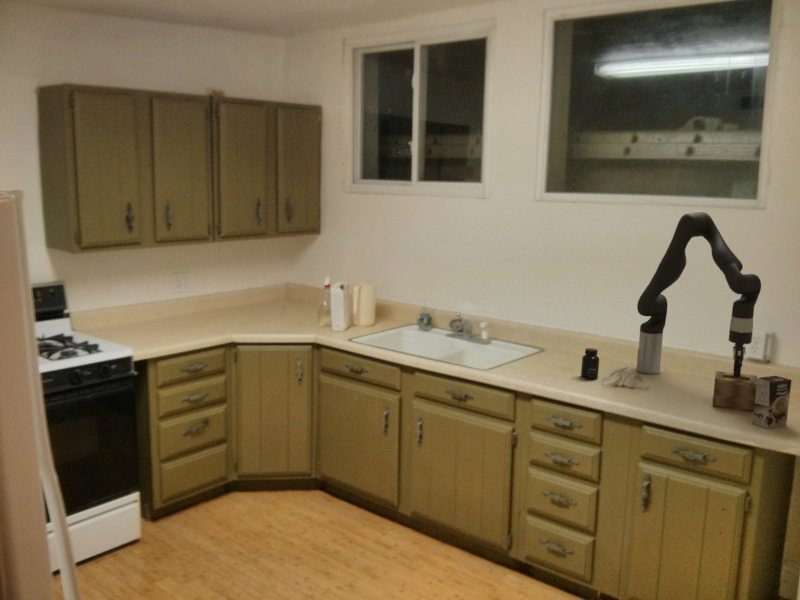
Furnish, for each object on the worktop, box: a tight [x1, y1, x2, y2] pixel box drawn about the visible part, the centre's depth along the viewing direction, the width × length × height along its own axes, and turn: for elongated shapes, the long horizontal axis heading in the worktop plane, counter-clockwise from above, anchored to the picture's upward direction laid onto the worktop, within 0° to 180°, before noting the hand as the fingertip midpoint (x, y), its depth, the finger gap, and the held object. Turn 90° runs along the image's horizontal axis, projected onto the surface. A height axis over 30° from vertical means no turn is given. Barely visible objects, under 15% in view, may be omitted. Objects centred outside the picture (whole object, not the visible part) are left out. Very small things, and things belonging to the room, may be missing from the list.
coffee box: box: [752, 375, 792, 429], centre depth 246 cm, size 9×6×16 cm
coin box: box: [712, 370, 758, 413], centre depth 267 cm, size 14×12×10 cm
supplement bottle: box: [580, 347, 600, 381], centre depth 299 cm, size 7×7×12 cm
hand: (736, 374), depth 266 cm, fingers open, 6 cm apart
